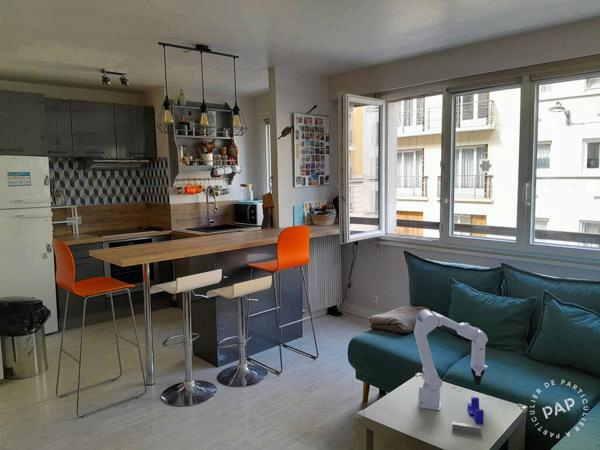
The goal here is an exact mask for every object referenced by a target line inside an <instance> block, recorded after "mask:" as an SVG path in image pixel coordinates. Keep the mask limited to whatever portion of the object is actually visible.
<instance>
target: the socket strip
mask: <svg viewBox="0 0 600 450" xmlns="http://www.w3.org/2000/svg"><path fill="white" fill-rule="evenodd" d="M451 428H452V429H451V431H452V432H456V433H462V434H467V435H474V436H479V437H481V435H482V426H481V425H477V424H470V423H463V422H457V421H452V425H451Z"/></svg>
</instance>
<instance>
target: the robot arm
mask: <svg viewBox="0 0 600 450" xmlns="http://www.w3.org/2000/svg"><path fill="white" fill-rule="evenodd" d="M415 319H416V320H415V325H414V329H413V335H414V337H415V341H416V345H417V349H418V354H419V357H420V361H421V364H422V369H421V370H422V373H421V377H422V379H423V381H424V382H423V384H419V385H418V396H417V397H418V398H417V401H418V408H421V409H427V410H432V411H433V410H434V411H441V406H442V401H441V388H442V387H443V380H442V379H441V378H440V376H439V373H438V372H437V370H436V367H435V363H434V360H433V355H432V352H431V349H430V344H429V340H428V337H427V335H428V334H429V333H431V332H432V331H434V329H436V328H437V327H439V328H440V327H441V326H445V327H447V328H449V329H453V330H455V331H456V333H457V335H460V336H461V337H463V338H466V339H469V340H470V341H471V354H470V355H471V356H470V358H471V361H470V362H471V363H470V372H471V374H472V377H473V382H474V385H476V386H480V385H481V382H482V378H483V376H484V375H485V369H488V365H486V364H485V361H486V344H487V343H488V340H489V338H488V336H487V334H486V333H485V332H484V331H482V330H481V329H480V328H479V327H476V326H475V327H474V326H472V325H470V323H468V322H460V323H458V322H456V321H454V320H453V319H451V318H448V317H446V316H444V315H442V314H440V313H438V312H435V311H433V310H432V311H430V310H429V309H421V310H420V311H419V312H418V313H417V315H416V318H415Z"/></svg>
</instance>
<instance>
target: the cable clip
mask: <svg viewBox="0 0 600 450" xmlns="http://www.w3.org/2000/svg"><path fill="white" fill-rule="evenodd" d="M470 398H471V399H470V402H468V403H467V411H468V415H469V417H473V420H474V422H475V425H477V424H478V425H484V414H485V412H484V409H481V408H480V398H479V397H478V396H477V397H475V396H471V397H470Z"/></svg>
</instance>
